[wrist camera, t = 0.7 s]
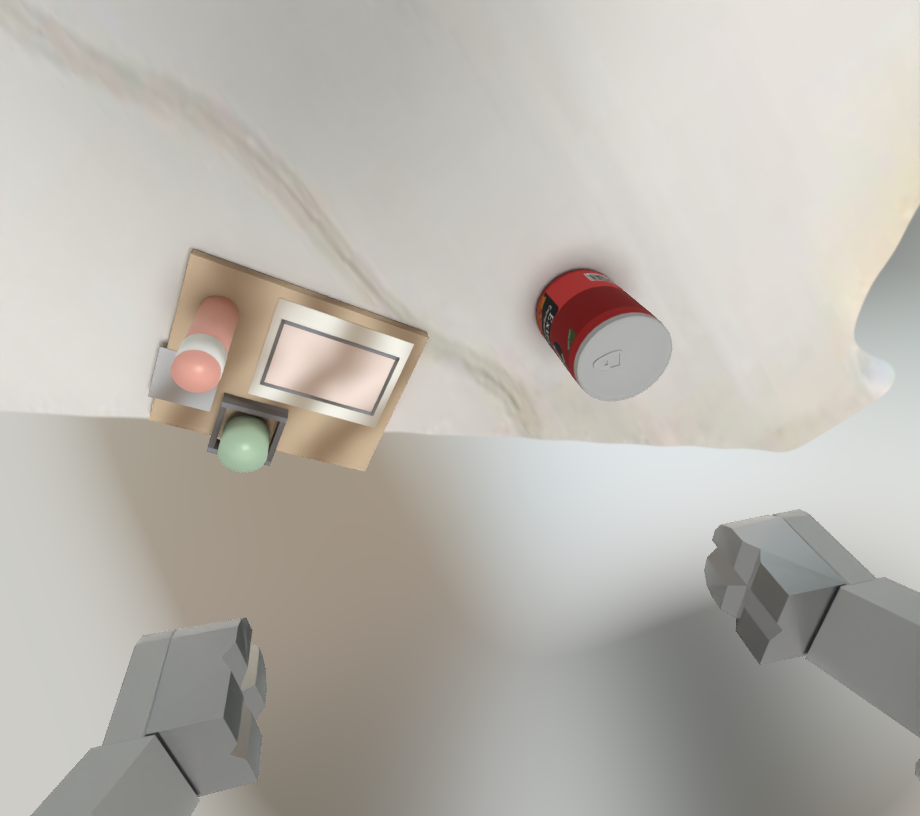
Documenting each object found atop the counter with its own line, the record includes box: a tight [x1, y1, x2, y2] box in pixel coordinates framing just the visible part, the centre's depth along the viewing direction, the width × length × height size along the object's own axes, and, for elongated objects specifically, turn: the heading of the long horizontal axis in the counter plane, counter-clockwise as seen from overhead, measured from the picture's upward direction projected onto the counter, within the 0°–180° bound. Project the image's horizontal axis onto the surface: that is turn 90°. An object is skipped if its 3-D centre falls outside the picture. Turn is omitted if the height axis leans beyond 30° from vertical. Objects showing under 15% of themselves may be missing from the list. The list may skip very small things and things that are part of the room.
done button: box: [218, 415, 270, 472], centre depth 49 cm, size 4×4×3 cm
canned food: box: [537, 270, 672, 401], centre depth 48 cm, size 8×8×11 cm
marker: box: [171, 296, 239, 393], centre depth 41 cm, size 3×3×10 cm
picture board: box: [148, 249, 429, 471], centre depth 49 cm, size 20×17×3 cm
